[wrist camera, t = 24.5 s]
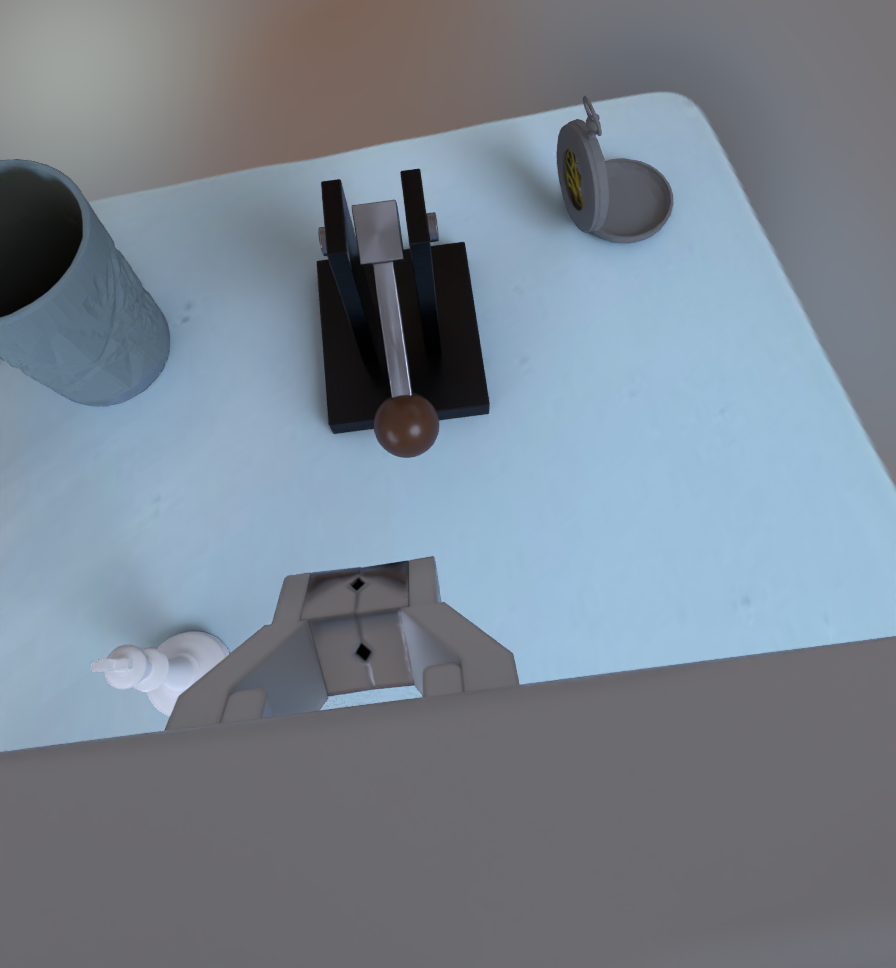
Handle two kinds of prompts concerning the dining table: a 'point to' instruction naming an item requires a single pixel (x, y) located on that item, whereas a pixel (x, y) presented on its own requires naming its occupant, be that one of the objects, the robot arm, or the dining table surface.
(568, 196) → the pocket watch
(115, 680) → the chess piece
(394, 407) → the tap lever
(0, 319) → the grey embossed pot
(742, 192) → the dining table surface
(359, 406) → the black lever stand
